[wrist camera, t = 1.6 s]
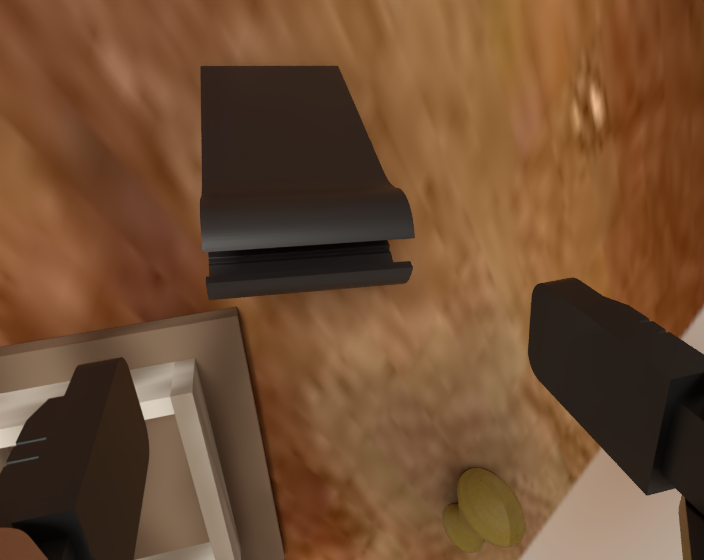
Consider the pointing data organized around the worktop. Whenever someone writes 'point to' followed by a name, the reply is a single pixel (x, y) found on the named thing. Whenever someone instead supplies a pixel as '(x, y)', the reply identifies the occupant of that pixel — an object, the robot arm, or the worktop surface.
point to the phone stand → (293, 186)
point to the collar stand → (171, 430)
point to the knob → (484, 512)
